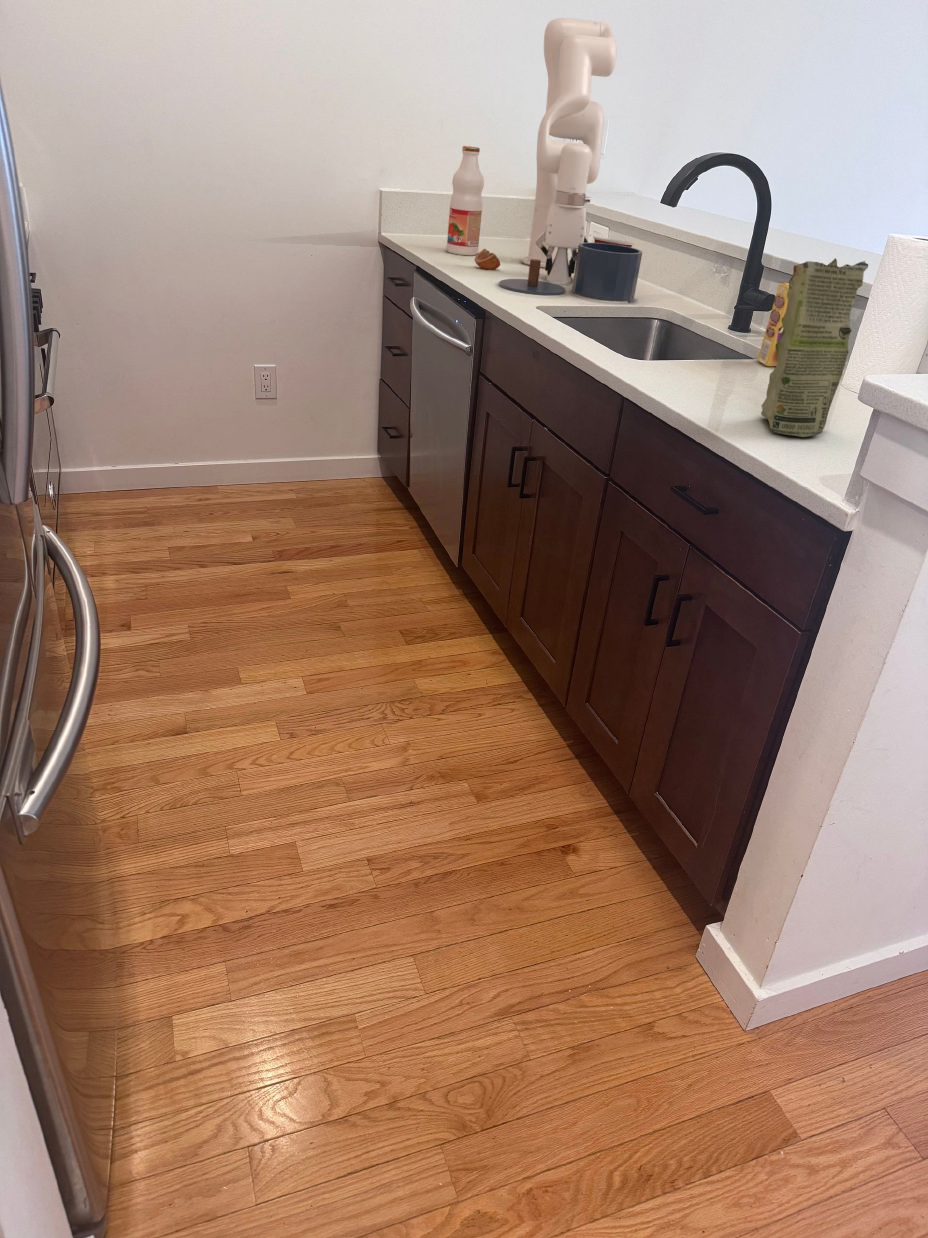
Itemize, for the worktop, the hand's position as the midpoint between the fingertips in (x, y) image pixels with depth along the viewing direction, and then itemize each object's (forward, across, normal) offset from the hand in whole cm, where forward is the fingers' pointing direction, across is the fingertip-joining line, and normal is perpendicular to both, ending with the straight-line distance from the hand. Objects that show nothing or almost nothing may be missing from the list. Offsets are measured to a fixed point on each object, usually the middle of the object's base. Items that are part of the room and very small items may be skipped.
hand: (559, 274), depth 232 cm
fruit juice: (+2, +26, -34) cm, 43 cm away
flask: (+2, 0, 0) cm, 2 cm away
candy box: (+2, -39, +70) cm, 80 cm away
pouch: (+2, -27, +112) cm, 115 cm away
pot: (+2, -10, +15) cm, 18 cm away
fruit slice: (+2, +19, -7) cm, 20 cm away
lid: (+1, +8, +16) cm, 18 cm away
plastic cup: (+2, -13, -1) cm, 13 cm away
